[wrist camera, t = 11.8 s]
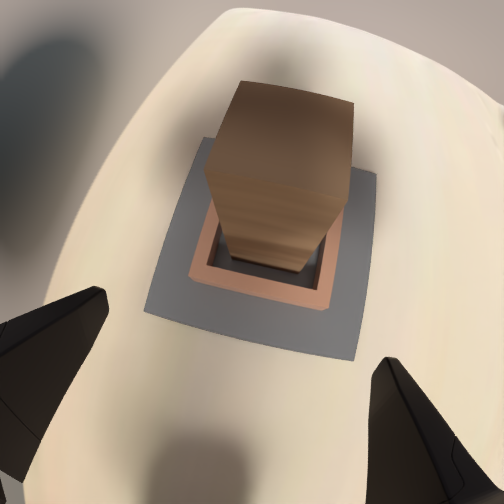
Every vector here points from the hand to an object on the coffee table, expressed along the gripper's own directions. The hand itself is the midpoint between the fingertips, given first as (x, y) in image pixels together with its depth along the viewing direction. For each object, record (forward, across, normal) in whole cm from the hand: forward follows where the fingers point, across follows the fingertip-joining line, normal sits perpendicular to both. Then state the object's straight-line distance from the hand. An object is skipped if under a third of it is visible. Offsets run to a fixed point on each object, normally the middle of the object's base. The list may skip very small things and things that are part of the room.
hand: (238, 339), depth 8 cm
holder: (+14, 0, +3) cm, 14 cm away
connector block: (+14, 0, +3) cm, 14 cm away
